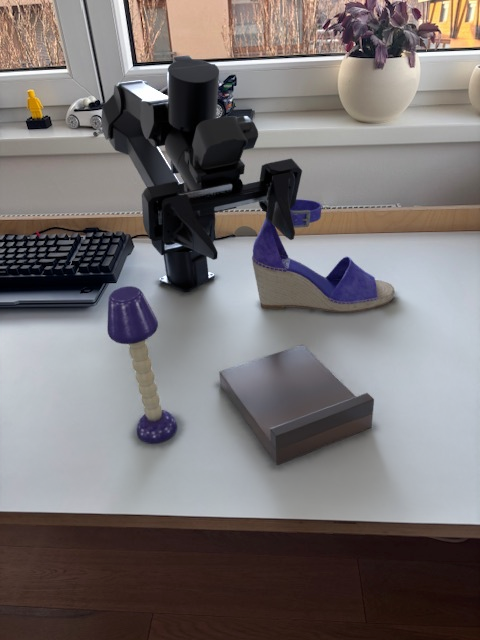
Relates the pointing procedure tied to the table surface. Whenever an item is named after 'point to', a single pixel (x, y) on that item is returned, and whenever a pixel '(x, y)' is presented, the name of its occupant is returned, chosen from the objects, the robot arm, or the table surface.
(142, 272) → the table surface
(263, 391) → the shoe shelf
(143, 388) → the toy lamp
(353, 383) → the table surface
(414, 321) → the table surface
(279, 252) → the sandal
